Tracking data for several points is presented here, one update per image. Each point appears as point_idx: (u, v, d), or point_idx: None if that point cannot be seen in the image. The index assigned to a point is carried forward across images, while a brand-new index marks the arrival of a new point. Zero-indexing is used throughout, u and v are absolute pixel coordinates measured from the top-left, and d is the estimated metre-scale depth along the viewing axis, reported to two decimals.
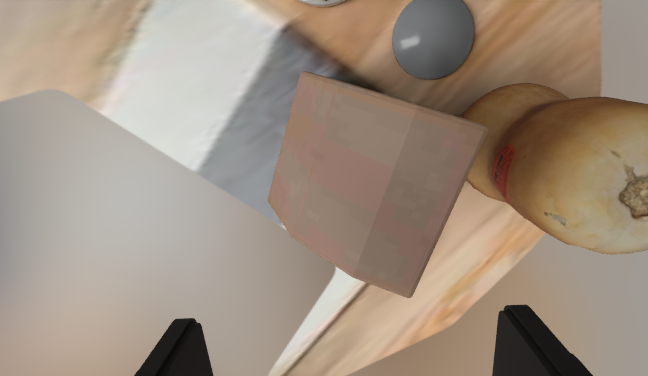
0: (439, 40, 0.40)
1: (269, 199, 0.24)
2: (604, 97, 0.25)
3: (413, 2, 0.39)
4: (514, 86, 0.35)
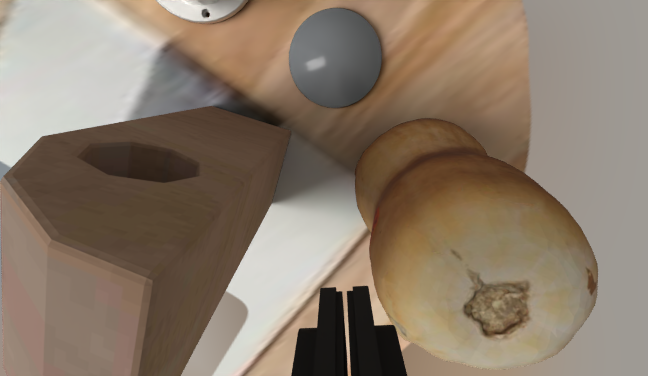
0: (342, 64, 0.34)
1: None
2: (480, 158, 0.20)
3: (309, 20, 0.33)
4: (414, 124, 0.30)
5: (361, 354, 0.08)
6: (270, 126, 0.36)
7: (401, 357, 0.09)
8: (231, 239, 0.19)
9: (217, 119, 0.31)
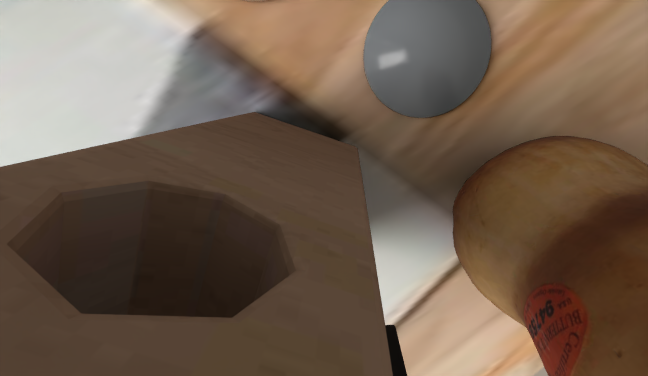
0: (435, 59, 0.25)
1: None
2: None
3: None
4: (560, 145, 0.21)
5: None
6: (333, 141, 0.27)
7: (401, 357, 0.09)
8: None
9: (269, 131, 0.22)
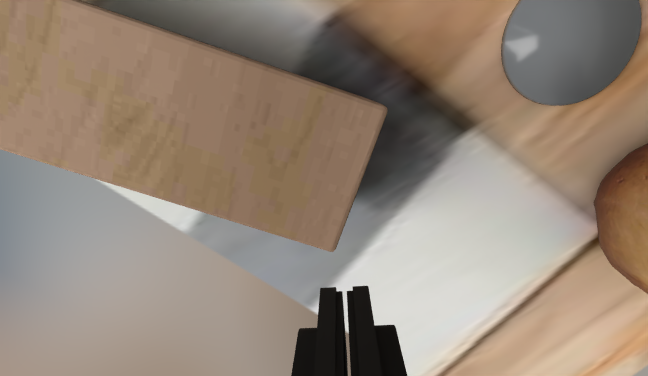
0: (580, 44, 0.25)
1: None
2: None
3: None
4: None
5: (361, 354, 0.08)
6: None
7: (401, 357, 0.09)
8: (20, 56, 0.18)
9: None
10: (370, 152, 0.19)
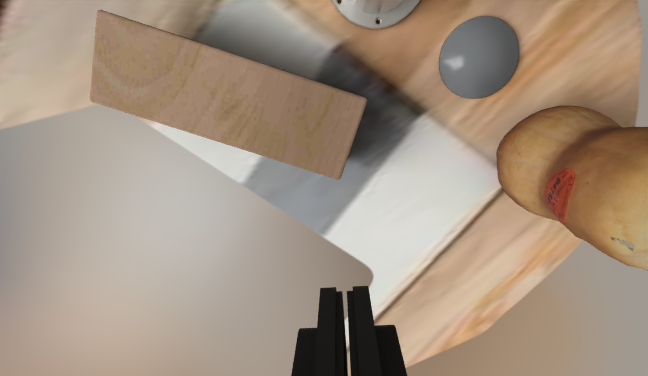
0: (484, 62, 0.42)
1: None
2: None
3: (461, 26, 0.41)
4: (562, 109, 0.37)
5: (361, 354, 0.08)
6: None
7: (401, 357, 0.09)
8: (179, 74, 0.35)
9: None
10: (358, 122, 0.36)
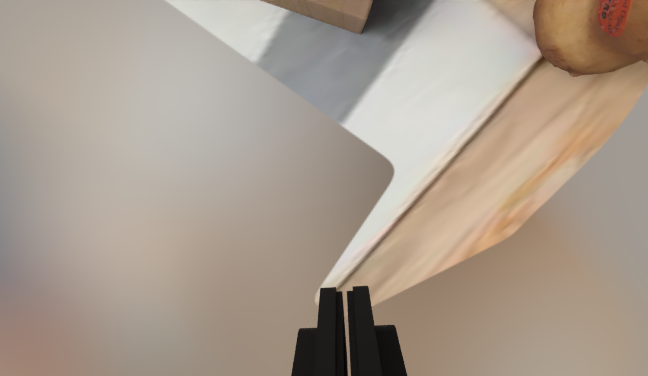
0: None
1: None
2: None
3: None
4: None
5: (361, 354, 0.08)
6: None
7: (401, 357, 0.09)
8: None
9: None
10: None
